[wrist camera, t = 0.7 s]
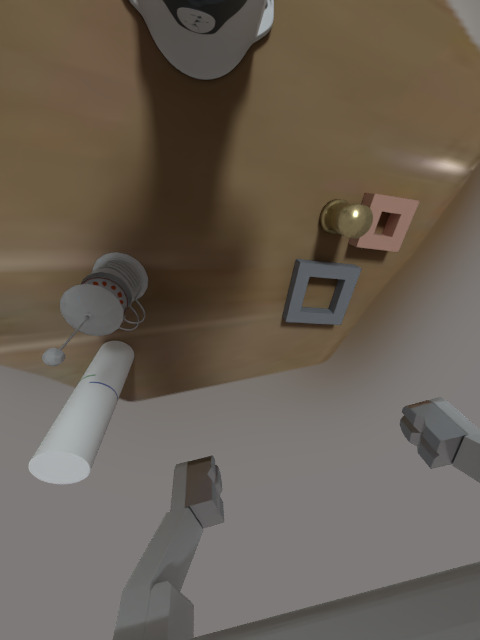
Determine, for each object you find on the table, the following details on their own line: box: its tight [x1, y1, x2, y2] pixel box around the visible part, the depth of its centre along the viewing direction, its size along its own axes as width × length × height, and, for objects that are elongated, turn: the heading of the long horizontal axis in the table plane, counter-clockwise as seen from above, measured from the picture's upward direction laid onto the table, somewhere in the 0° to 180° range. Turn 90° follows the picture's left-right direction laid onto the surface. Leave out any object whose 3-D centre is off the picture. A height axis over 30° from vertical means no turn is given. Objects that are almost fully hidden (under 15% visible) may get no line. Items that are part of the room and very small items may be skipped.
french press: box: [42, 252, 148, 366], centre depth 36 cm, size 10×12×25 cm
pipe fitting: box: [320, 199, 373, 239], centre depth 43 cm, size 6×6×8 cm
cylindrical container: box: [29, 341, 134, 484], centre depth 43 cm, size 7×7×25 cm
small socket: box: [348, 193, 420, 252], centre depth 46 cm, size 9×9×3 cm
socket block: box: [282, 259, 362, 325], centre depth 52 cm, size 13×13×2 cm
